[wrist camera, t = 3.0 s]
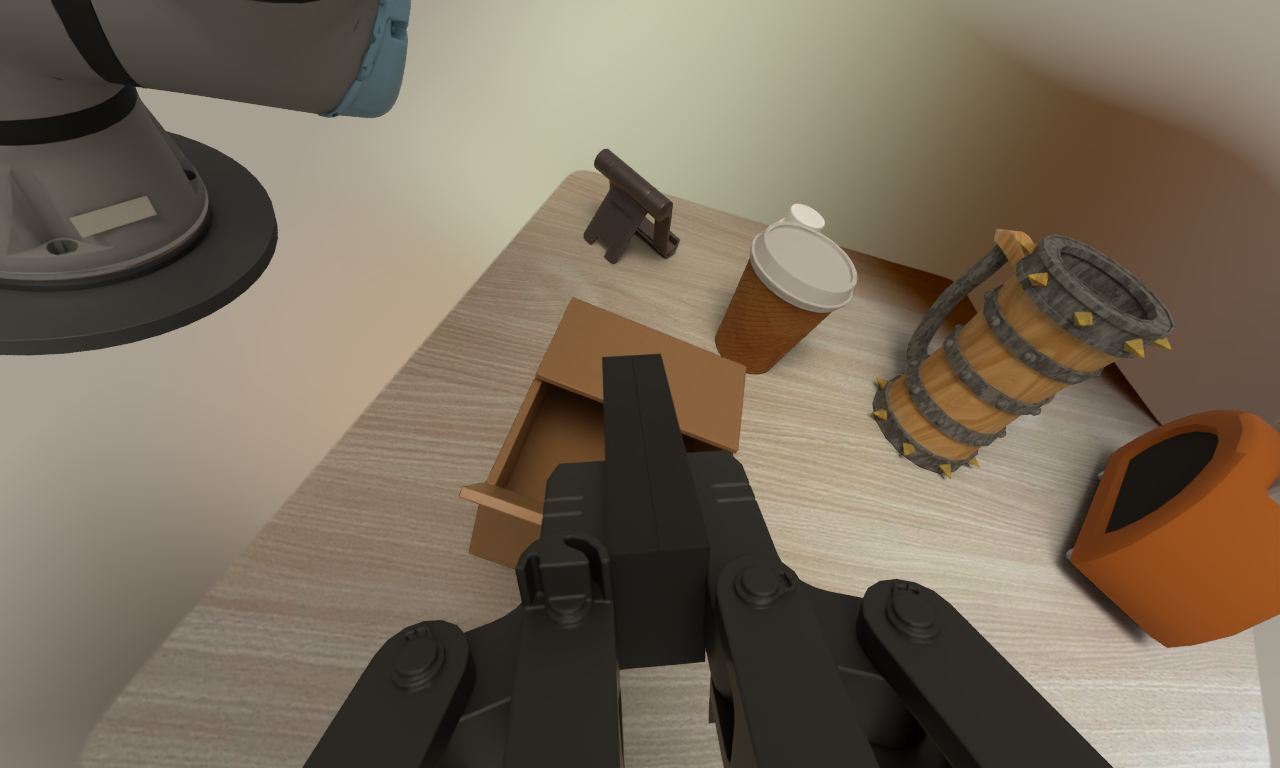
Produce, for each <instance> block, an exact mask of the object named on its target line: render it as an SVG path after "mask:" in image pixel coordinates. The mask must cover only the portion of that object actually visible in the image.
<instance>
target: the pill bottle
mask: <svg viewBox="0 0 1280 768" xmlns="http://www.w3.org/2000/svg"><path fill="white" fill-rule="evenodd" d="M778 222H791V223H797V224H800V225H804V226H806V227H809V228H811V229H813V230H816V231H817V232H819V233H820V231H821V230H822V228H823V227H824V224H825V223H824V219H823V218H822V216H821V215H820V214H819V213H818V212H816V211H815V210H814V209H812V208H810V207H808V206H806V205H802V204H794V205H792V207H791V208H790V210H789V211H788V213H787V214H786V216H785V218H783V219H781V220H779V221H778Z"/></svg>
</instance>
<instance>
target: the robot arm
mask: <svg viewBox="0 0 1280 768" xmlns="http://www.w3.org/2000/svg"><path fill="white" fill-rule="evenodd" d="M410 7H411V0H0V288H1V289H10V290H22V291H68V290H79V289H88V288H95V287H101V286H106V285H112V284H116V283H120V282H124V281H128V280H132V279H135V278H138V277H142V276H144V275H147V274H150V273H152V272H155V271H157V270H160V269H162V268H164V267H166V266H168V265H170V264H172V263H174V262H176V261H177V260H179V259H180V258H182V257H183V256H185V255H186V254H188V253H189V252H190V251H191V250H193V249H194V248H195V247H196V246H197V245H198V244H199V243H200V242H201V241H202V239H203V238H204V237H205V235H206V233H207V232H208V230H209V227H210V225H211V221H212V207H211V203H210V200H209V197H208V194H207V190H206V187H205V185H204V182H203V180H202V179H201V177H200V176H199V174H198V172H197V171H196V169H195V167H194V166H193V165H192V164H191V162H190V161H189V160H188V159H187V158H186V157H185V155H184V154H183V153H182V151H181V150H180V148H179V147H178V146H177V145H176V143H175V142H174V141H173V140H172V138H171V137H170V136H169V135H168V133H167V132H166V131H165V130H164V128H163V127H162V126H161V125H160V123H159V122H158V121H157V120H156V118H155V117H154V116H153V115H152V113H151V112H150V111H149V110H148V108H147V107H146V106H145V105H144V103H143V102H142V101H141V99H140V97H139V95H138V92H137V90H136V88H135V87H142V88H150V89H157V90H164V91H171V92H178V93H185V94H192V95H199V96H205V97H212V98H219V99H224V100H231V101H238V102H244V103H250V104H257V105H263V106H269V107H276V108H282V109H289V110H295V111H302V112H308V113H314V114H318V115H319V116H323V117H328V118H329V117H336V116H339V115H342V116H352V117H363V118H376V117H380V116H382V115H384V114H386V113H387V112H388V111H389V110H390V109H391V108H392V106H393V105H394V104H395V102H396V100H397V98H398V94H399V91H400V87H401V84H402V79H403V74H404V68H405V62H406V54H407V44H408V39H407V31H406V29H407V27H408V21H409V15H410ZM602 373H603V405H604V438H605V461H591V462H577V463H562V464H558V465H557V467H556V468H555V470H554V471H553V472H552V474H551V475H550V477H549V478H548V479H547V482H546V491H545V503H544V507H543V518H542V524H541V532H540V539H538V540H536V541H534V542H532V543H531V544H530V545H529V547H528V548H527V549H526V550H525V551H524V552H523V553H522V554H521V555H520V558H519V560H518V563H517V565H516V567H515V571H516V576H517V580H518V585H519V590H520V595H521V600H522V603H521V604H520V605H519V606H518V607H517V608H516V609H514V610H513V611H512V612H510V613H509V614H507V615H506V616H504V617H502V618H500V619H498V620H496V621H494V622H492V623H489V624H486V625H484V626H481V627H478V628H476V629H473V630H470V631H468V632H465V633H463V632H462V630H461V629H460V628H459V627H458V626H457V625H455V624H452V623H449V622H446V621H443V620H436V621H423V622H420V623H418V624H415V625H412V626H409V627H407V628H405V629H403V630H402V631H400V632H399V633H397V634H396V635H394V636H393V637H392V638H390V639H389V640H387V642H386V643H385V644H384V645H383V646H382V647H381V648H380V650H379V651H378V652H377V653H376V654H375V655H374V657H373V658H372V660H371V661H370V663H369V665H368V666H367V668H366V669H365V671H364V672H363V674H362V675H361V677H360V679H359V680H358V682H357V683H356V685H355V686H354V688H353V690H352V691H351V693H350V694H349V696H348V697H347V699H346V700H345V702H344V704H343V705H342V707H341V708H340V710H339V711H338V713H337V715H336V716H335V718H334V719H333V721H332V722H331V724H330V725H329V727H328V729H327V730H326V732H325V733H324V735H323V736H322V738H321V740H320V741H319V743H318V744H317V746H316V747H315V749H314V750H313V752H312V754H311V755H310V757H309V758H308V760H307V761H306V763H305V765H304V766H303V768H625V763H624V742H623V721H622V702H621V690H620V671H619V670H621V669H632V668H643V667H654V666H665V665H676V664H687V663H698V662H705V648H706V652H707V657H708V662H709V667H710V672H711V679H710V697H709V723H714V722H715V724H716V729H717V734H718V740H719V745H720V750H721V756H722V761H723V766H724V768H1113V767H1112V766H1111V765H1110V764H1109V763H1108V762H1107V761H1106V760H1105V759H1104V758H1103V757H1102V756H1101V755H1100V754H1099V753H1098V752H1097V751H1096V750H1095V749H1094V748H1093V747H1092V746H1091V745H1090V744H1089V743H1088V742H1087V741H1086V740H1085V739H1084V738H1083V737H1082V736H1081V735H1080V734H1079V733H1078V732H1077V731H1076V730H1075V729H1074V728H1073V727H1072V726H1071V725H1070V724H1069V723H1068V722H1067V721H1066V720H1065V719H1064V718H1063V717H1062V716H1061V715H1060V714H1059V713H1058V712H1057V711H1056V710H1055V709H1054V708H1053V707H1052V706H1051V705H1050V704H1049V703H1048V702H1047V701H1046V700H1045V699H1044V698H1043V697H1042V695H1041V694H1040V693H1039V692H1038V691H1037V690H1036V689H1035V688H1034V687H1033V686H1032V685H1031V684H1030V683H1029V682H1028V681H1027V680H1026V679H1025V678H1024V677H1023V676H1022V675H1021V674H1020V673H1019V672H1018V671H1017V670H1016V669H1015V668H1014V667H1013V666H1012V665H1011V664H1010V663H1009V662H1008V661H1007V660H1006V659H1005V658H1004V657H1003V656H1002V655H1001V654H1000V653H999V652H998V651H997V650H996V649H995V648H994V647H993V646H992V645H991V644H990V643H989V642H988V641H987V640H986V639H985V638H984V637H983V636H982V635H981V634H980V633H979V632H978V631H977V630H976V629H975V628H974V627H973V626H972V625H971V624H970V623H969V622H968V621H967V620H966V619H965V618H964V617H963V616H962V615H961V614H960V613H959V612H958V611H957V610H956V609H955V608H954V607H953V606H952V605H951V604H950V603H949V602H947V601H946V600H945V599H943V598H942V597H941V596H940V595H938V594H937V593H936V592H934V591H933V590H931V589H928V588H926V587H924V586H922V585H920V584H917V583H915V582H910V581H904V580H899V579H892V580H884V581H879V582H877V583H876V584H874V585H872V586H871V587H869V588H868V589H867V591H866V593H865V595H864V597H863V598H860V597H855V596H850V595H845V594H840V593H834V592H829V591H826V590H822V589H819V588H815V587H813V586H811V585H809V584H807V583H805V582H803V581H801V580H800V579H799V578H798V576H797V575H796V573H795V572H794V571H793V570H792V569H790V568H789V567H788V566H786V565H785V564H784V563H782V562H781V560H780V558H779V556H778V554H777V552H776V549H775V547H774V544H773V541H772V539H771V536H770V534H769V531H768V529H767V526H766V524H765V521H764V519H763V516H762V514H761V511H760V509H759V506H758V504H757V501H756V500H755V496H754V493H753V491H752V488H751V486H749V481H748V478H747V476H746V473H745V471H744V468H743V466H742V464H741V463H740V462H739V461H738V460H737V459H735V458H734V457H733V456H732V455H731V454H730V453H729V452H728V451H727V450H723V451H709V452H695V453H686V450H685V446H684V442H683V438H682V434H681V430H680V426H679V422H678V418H677V415H676V411H675V407H674V403H673V399H672V395H671V391H670V387H669V383H668V379H667V375H666V371H665V367H664V363H663V360H662V356H661V354H644V355H628V356H612V357H602Z"/></svg>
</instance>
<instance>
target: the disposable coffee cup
mask: <svg viewBox="0 0 1280 768" xmlns="http://www.w3.org/2000/svg"><path fill="white" fill-rule="evenodd" d="M856 282H857V272H856V269H855V267H854V264H853V263H852V261H851V260H850V258H849V257H848V256H847V254H846V253H845V252H844V251H843V250H842V249H841V248H840V247H839V246H838V245H837V244H835V243H834V242H833V241H831V240H830V239H829V238H827V237H826V236H824V235H823V234H821V233H819V232H817V231H816V230H813V229H811V228H809V227H806V226H804V225H800V224H797V223H791V222H777V223H774V224H772V225H770V226H769V227H767V228H766V229H765V230H764V231H763V232H761V233H759V234H758V235H756V237H755V238H754V239H753V241H752V245H751V252H750V259H749V261H748V264H747V266H746V268H745V271H744V272H743V275H742V277H741V279H740V282H739V284H738V287H737V288H736V291H735V293H734V296H733V298H732V300H731V303H730V304H729V307H728V309H727V312H726V314H725V316H724V318H723V321H722V323H721V326H720V328H719V330H718V332H717V334H716V346H717V348H718V351H719V352H720V354H721V355H722V357H724V358H726V359H729V360H731V361H734V362H736V363H739V364H741V365H744V366H746V372H747V373H751V374H761V373H765V372H767V371H768V370H769V369H770V368H771V367H772V366H773V365H775V364H776V363H777V362H778V361H779V360H780V359H781V358H782V357H783V356H784V355H785V354H786V353H788V352H789V351H790V350H791V349H792V348H793V347H794V346H795V345H796V344H797V343H799V342H800V341H801V340H802V339H803V338H804V337H805V336H806V335H807V334H808V333H809V332H811V331H812V330H813V329H814V328H815V327H816V326H817V325H818V324H819V323H820V322H821V321H822V320H824V319H825V318H826V317H827V316H828V315H829V314H830V313H831V312H832V311H835V310H837V309H839V308H841V307H843V306H845V305H846V304H847V303H849V301H850V300H851V298H852V296H853V288H854V286H855V284H856Z"/></svg>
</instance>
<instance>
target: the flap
mask: <svg viewBox="0 0 1280 768" xmlns="http://www.w3.org/2000/svg"><path fill="white" fill-rule="evenodd" d="M459 497H460V498H463V499H466V500H469V501H472V502H475V503H477V504H480V505H483V506H486V507H489V508H492V509H495V510H497V511H500V512H503V513H506V514H509V515H512V516H515V517H517V518H520V519H523V520H526V521H529V522H532V523H535V524H537V525H540V526H541V524H542V518H543V507H544V503H543V502H540V501H537V500H535V499H532V498H529V497H526V496H523V495H521V494H518V493H515V492H512V491H509V490H506V489H504V488H501V487H498V486H495V485H492V484H490V483H487V482H484V483H479V484H474V485H468V486H463V487H462V489H461V491H460V494H459Z"/></svg>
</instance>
